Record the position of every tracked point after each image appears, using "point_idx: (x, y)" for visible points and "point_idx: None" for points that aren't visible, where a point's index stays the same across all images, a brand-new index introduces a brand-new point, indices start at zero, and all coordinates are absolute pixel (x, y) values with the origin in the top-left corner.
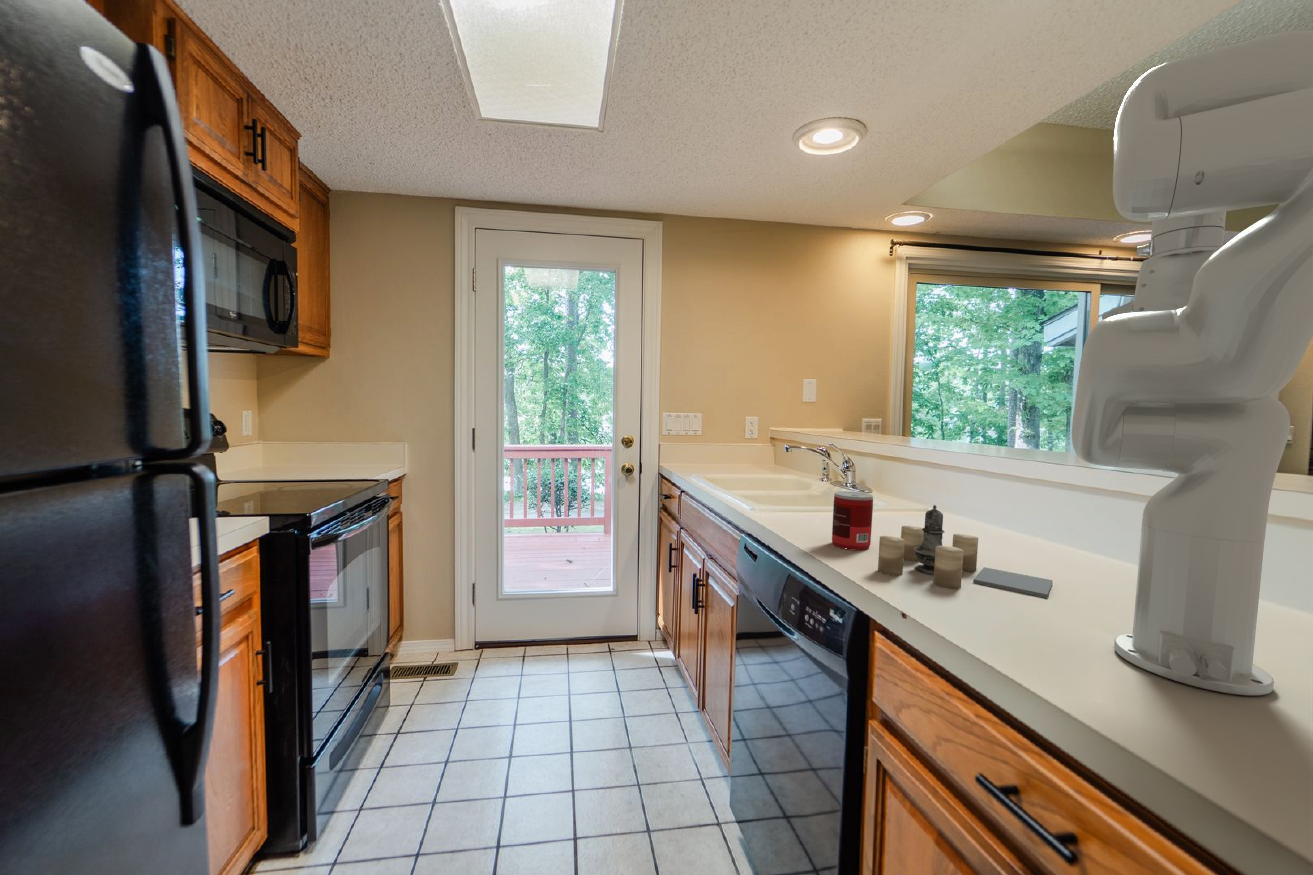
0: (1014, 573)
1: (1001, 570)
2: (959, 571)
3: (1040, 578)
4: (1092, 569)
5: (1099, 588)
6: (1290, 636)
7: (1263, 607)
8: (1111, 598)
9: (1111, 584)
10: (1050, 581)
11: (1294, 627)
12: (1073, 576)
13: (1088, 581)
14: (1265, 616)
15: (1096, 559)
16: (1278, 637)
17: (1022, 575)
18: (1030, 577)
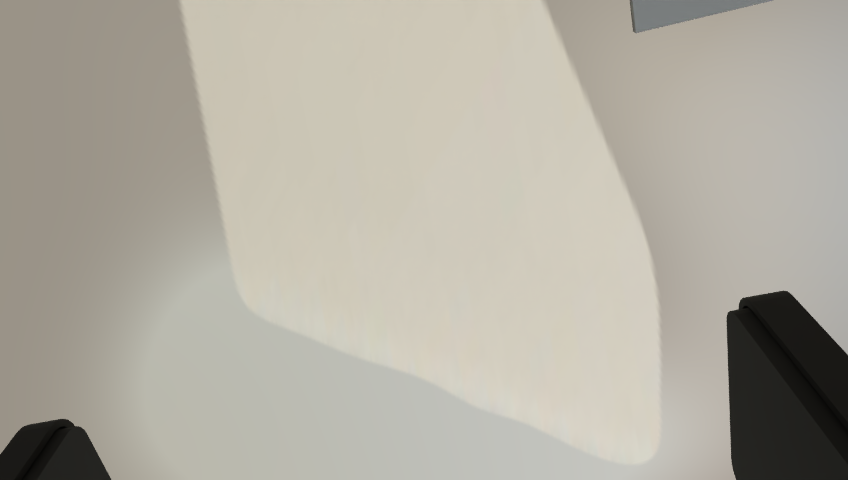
0: (726, 5)
1: (761, 1)
2: None
3: (662, 18)
4: (589, 293)
5: (541, 105)
6: (211, 76)
7: (288, 278)
8: (502, 29)
9: (529, 177)
10: (637, 11)
11: (222, 163)
12: (609, 171)
13: (573, 154)
14: (270, 202)
15: (602, 408)
16: (221, 42)
17: (705, 2)
18: (685, 2)
